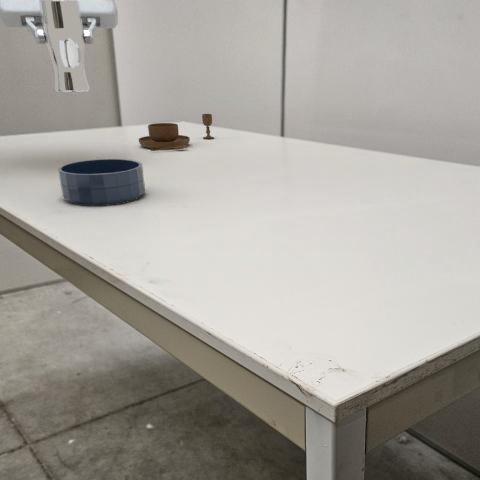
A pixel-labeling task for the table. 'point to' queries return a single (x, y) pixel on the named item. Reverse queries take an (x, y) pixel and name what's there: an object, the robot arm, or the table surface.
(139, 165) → the bowl
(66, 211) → the table surface
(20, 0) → the robot arm
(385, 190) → the table surface
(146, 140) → the place setting
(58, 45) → the beer glass
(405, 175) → the table surface
